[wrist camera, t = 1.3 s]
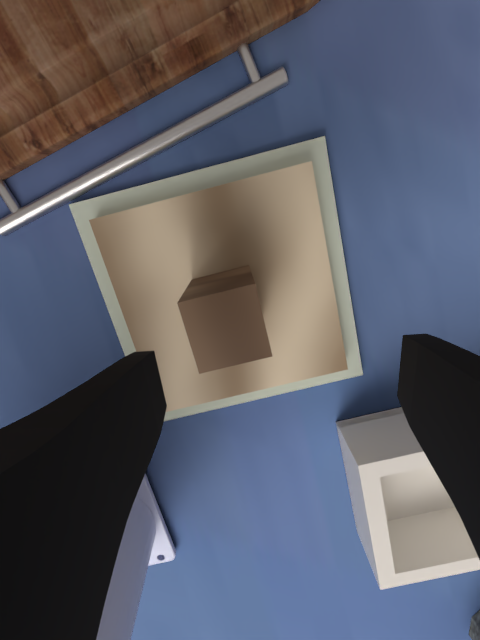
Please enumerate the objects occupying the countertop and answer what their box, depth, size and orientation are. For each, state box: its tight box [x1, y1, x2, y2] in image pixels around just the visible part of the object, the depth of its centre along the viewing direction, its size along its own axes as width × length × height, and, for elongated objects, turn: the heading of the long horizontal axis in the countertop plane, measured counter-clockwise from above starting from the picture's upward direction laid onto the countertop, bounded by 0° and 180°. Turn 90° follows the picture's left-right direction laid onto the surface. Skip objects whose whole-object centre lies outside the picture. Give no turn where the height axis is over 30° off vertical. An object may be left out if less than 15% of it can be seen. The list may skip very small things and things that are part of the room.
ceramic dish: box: [336, 407, 480, 590], centre depth 21 cm, size 9×9×4 cm
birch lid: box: [89, 161, 348, 412], centre depth 16 cm, size 11×11×6 cm
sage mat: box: [69, 136, 363, 421], centre depth 19 cm, size 13×13×1 cm
